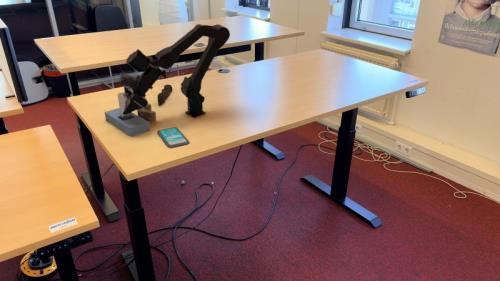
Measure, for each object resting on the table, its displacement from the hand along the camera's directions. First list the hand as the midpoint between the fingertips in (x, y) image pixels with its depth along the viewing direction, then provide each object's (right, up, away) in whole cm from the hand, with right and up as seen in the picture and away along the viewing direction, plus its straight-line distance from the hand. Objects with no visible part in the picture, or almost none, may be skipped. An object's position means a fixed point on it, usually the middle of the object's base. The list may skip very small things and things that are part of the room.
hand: (121, 109), depth 147 cm
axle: (+1, -6, +4) cm, 7 cm away
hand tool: (+10, +7, +30) cm, 32 cm away
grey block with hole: (+1, -6, +4) cm, 7 cm away
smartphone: (+21, -11, -5) cm, 24 cm away
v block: (+7, -3, +10) cm, 13 cm away
